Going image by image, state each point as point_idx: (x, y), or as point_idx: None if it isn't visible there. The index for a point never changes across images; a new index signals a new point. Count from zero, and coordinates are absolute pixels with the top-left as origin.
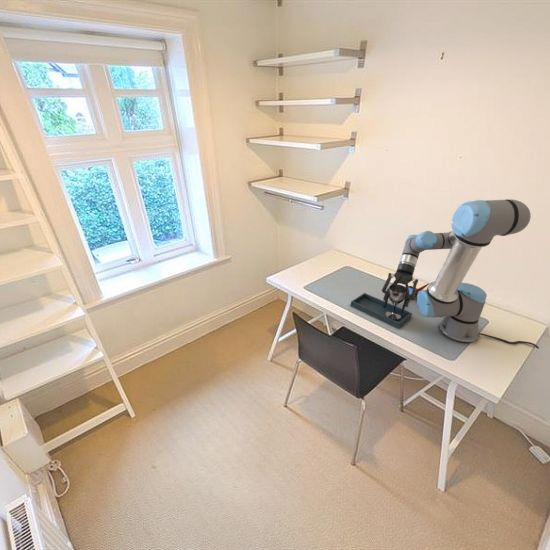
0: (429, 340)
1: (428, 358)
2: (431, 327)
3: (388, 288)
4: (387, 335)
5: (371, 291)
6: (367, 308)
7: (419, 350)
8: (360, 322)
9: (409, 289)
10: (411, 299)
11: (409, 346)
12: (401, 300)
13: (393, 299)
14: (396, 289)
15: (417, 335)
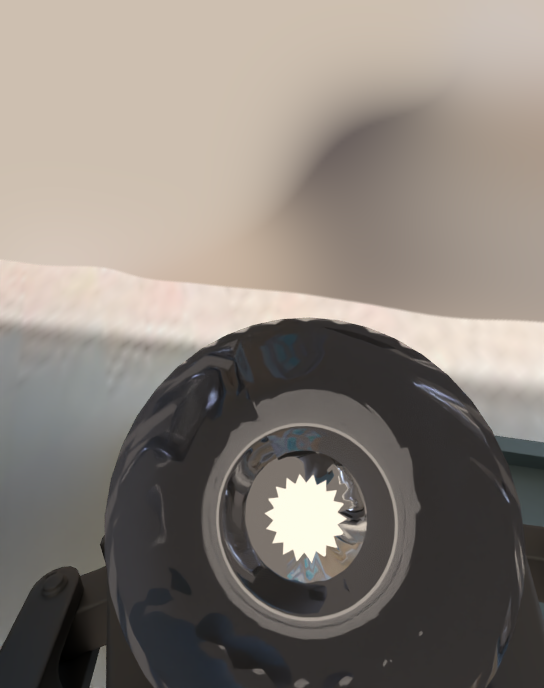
0: (28, 412)
1: (39, 274)
2: (4, 587)
3: (528, 589)
4: (259, 312)
5: None
6: (522, 445)
7: (81, 300)
8: (454, 328)
9: None
10: (89, 576)
11: (131, 299)
12: (212, 439)
13: (309, 393)
14: (386, 683)
15: (99, 417)
